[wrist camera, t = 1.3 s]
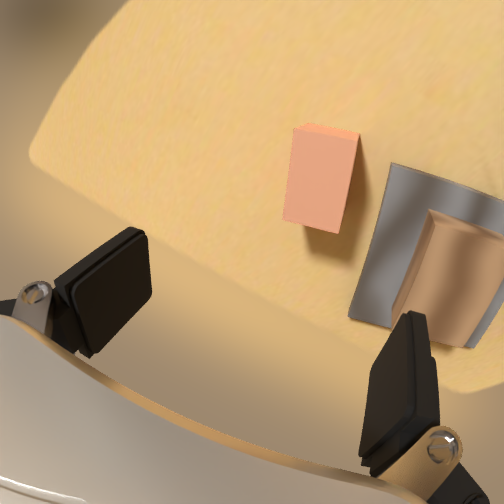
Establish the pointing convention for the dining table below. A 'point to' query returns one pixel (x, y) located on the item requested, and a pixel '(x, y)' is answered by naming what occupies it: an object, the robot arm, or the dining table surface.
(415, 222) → the base
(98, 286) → the robot arm
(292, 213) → the brick
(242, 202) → the dining table surface
